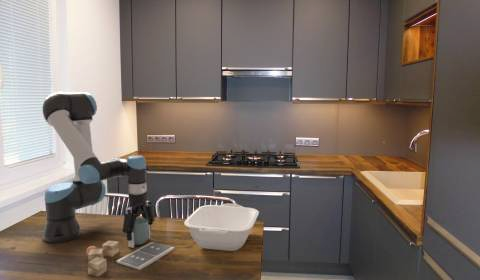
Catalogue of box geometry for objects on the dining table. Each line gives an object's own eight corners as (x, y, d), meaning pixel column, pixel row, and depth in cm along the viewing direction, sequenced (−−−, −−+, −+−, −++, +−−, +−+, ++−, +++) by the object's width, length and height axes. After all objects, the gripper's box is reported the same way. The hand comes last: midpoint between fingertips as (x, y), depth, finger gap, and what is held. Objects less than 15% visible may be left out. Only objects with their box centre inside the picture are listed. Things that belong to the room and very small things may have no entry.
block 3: (102, 255, 143) (102, 245, 142) (109, 250, 147) (108, 240, 147) (112, 256, 142) (112, 246, 141) (118, 252, 146) (118, 241, 146)
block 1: (88, 266, 135) (88, 254, 134) (91, 260, 139) (90, 249, 138) (101, 264, 135) (100, 253, 135) (103, 259, 140) (102, 248, 139)
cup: (143, 247, 150) (142, 225, 149) (126, 246, 152) (125, 223, 150) (151, 240, 158) (151, 218, 156) (135, 238, 159) (134, 217, 158)
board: (116, 262, 137) (116, 259, 137) (152, 243, 154) (152, 240, 154) (140, 270, 131) (139, 266, 131) (174, 249, 149) (174, 246, 149)
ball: (84, 256, 142) (83, 247, 141) (92, 252, 145) (92, 243, 145) (91, 258, 140) (90, 249, 139) (99, 254, 143) (99, 245, 143)
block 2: (96, 257, 132) (97, 268, 133) (87, 262, 128) (88, 274, 128) (106, 259, 130) (107, 270, 131) (97, 264, 126) (98, 276, 127)
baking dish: (203, 226, 174) (203, 201, 172) (261, 231, 168) (261, 205, 166) (177, 258, 141) (176, 227, 139) (248, 265, 135) (248, 233, 133)
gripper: (124, 200, 140) (127, 254, 143) (161, 187, 159) (163, 235, 162) (111, 197, 144) (113, 250, 147) (148, 185, 163) (150, 232, 166)
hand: (139, 242), depth 154 cm, fingers open, 9 cm apart
